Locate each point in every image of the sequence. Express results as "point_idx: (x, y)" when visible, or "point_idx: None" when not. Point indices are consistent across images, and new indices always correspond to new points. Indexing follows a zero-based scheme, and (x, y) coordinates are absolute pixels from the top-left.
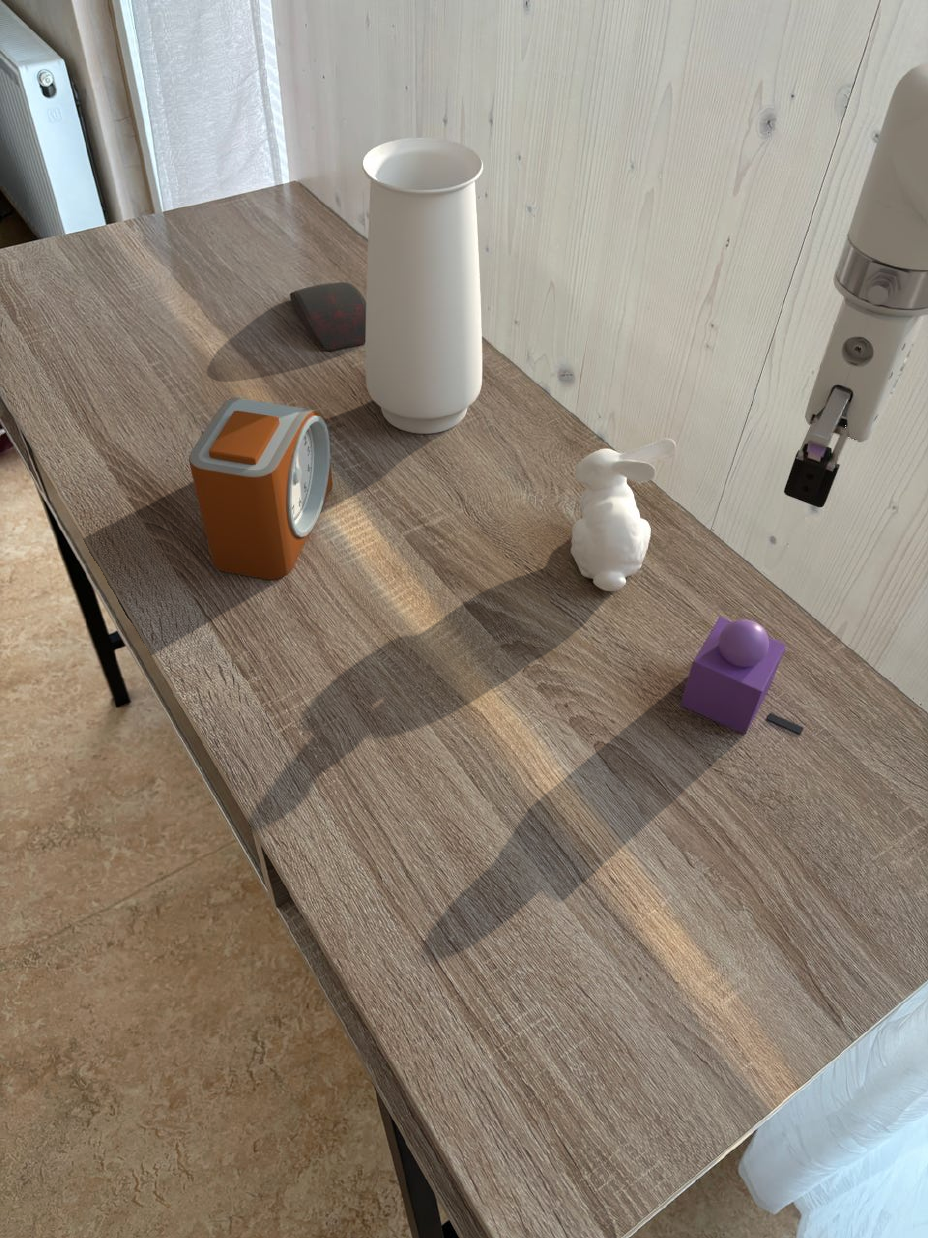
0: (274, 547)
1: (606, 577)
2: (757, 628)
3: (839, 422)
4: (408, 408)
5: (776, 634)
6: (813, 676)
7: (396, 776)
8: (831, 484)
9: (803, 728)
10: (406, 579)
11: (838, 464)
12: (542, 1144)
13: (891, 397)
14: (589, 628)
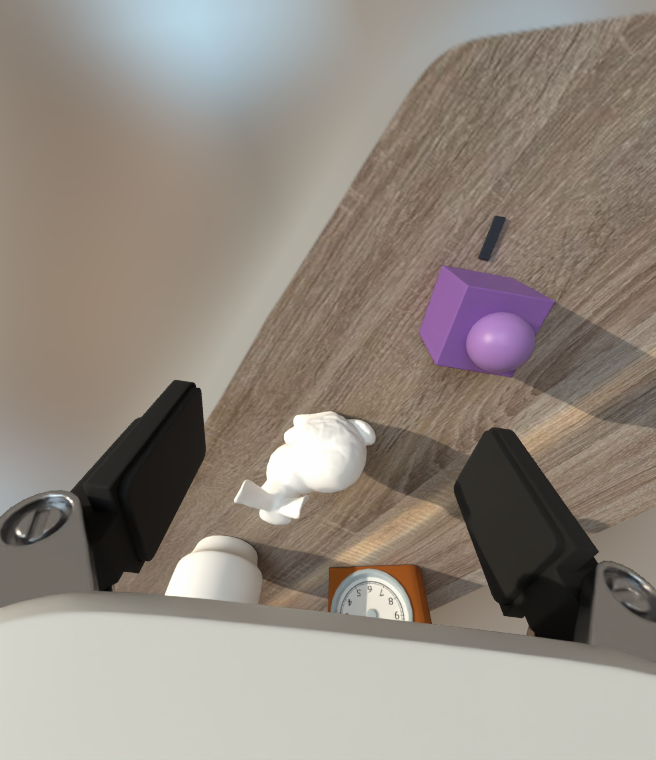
0: (424, 596)
1: (372, 442)
2: (512, 346)
3: (190, 456)
4: (259, 581)
5: (358, 271)
6: (410, 217)
7: (571, 489)
8: (553, 489)
9: (497, 216)
10: (395, 523)
11: (576, 553)
12: None
13: (226, 682)
14: (406, 424)
